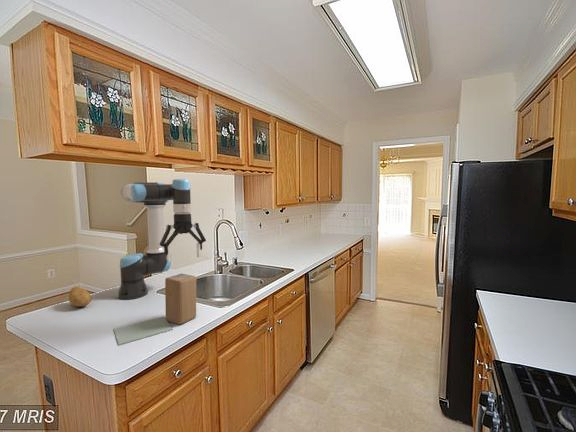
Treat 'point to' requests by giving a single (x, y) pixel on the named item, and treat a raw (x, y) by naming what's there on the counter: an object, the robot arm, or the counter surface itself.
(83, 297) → the potato
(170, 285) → the wooden block
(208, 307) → the counter surface
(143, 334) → the mat
